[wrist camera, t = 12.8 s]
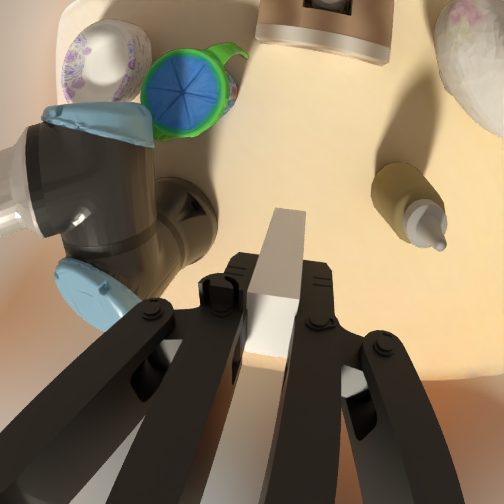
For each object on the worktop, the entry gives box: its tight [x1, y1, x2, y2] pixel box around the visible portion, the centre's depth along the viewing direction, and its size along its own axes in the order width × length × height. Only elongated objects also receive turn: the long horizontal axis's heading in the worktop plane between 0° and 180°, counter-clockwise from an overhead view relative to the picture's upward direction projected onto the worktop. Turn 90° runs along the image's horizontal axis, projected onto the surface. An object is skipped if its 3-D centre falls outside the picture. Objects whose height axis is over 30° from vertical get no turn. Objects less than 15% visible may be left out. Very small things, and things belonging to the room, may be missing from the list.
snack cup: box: [140, 42, 249, 142], centre depth 29 cm, size 16×10×10 cm
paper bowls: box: [62, 19, 152, 104], centre depth 29 cm, size 15×15×8 cm
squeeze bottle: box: [371, 162, 447, 251], centre depth 27 cm, size 8×8×18 cm
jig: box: [255, 0, 394, 67], centre depth 22 cm, size 16×14×4 cm
